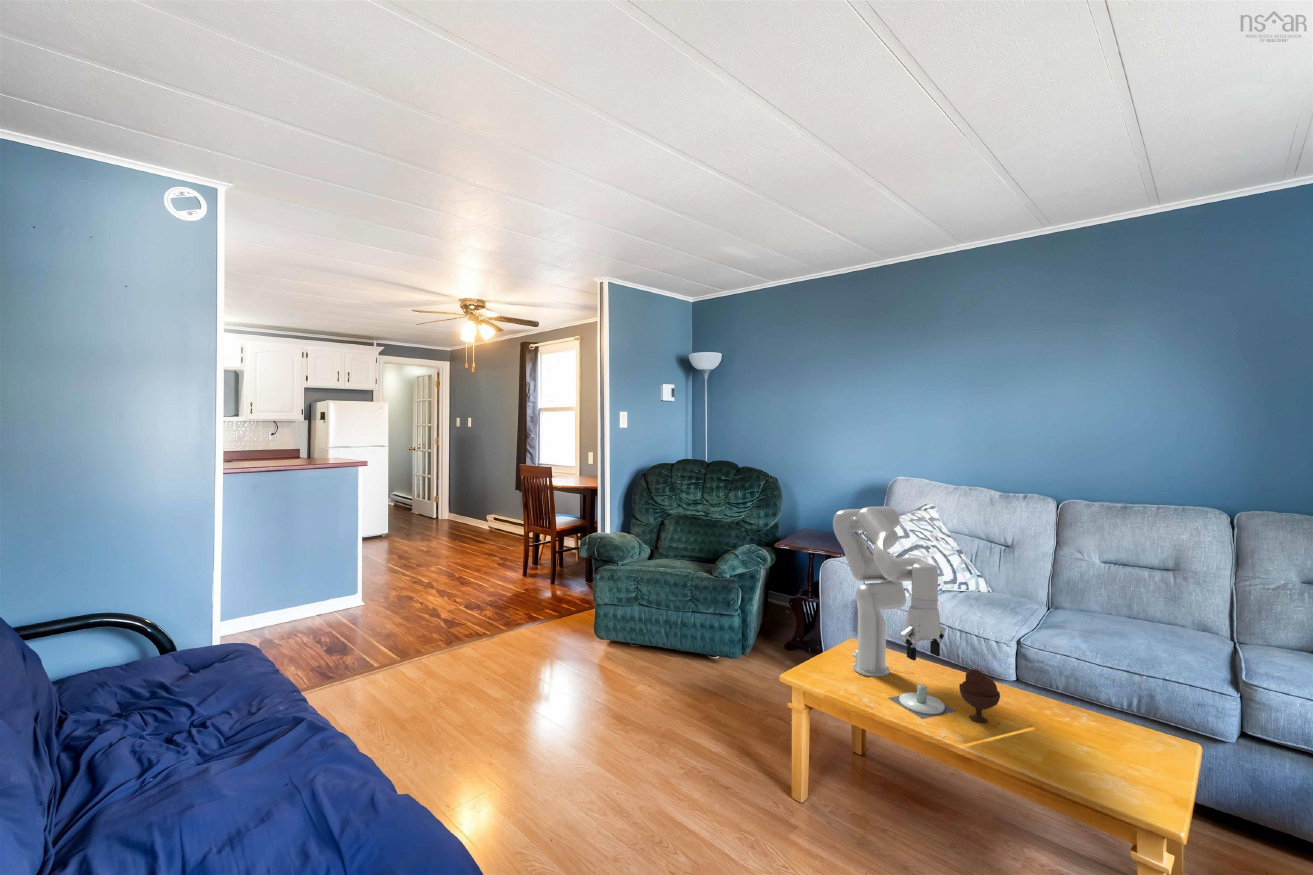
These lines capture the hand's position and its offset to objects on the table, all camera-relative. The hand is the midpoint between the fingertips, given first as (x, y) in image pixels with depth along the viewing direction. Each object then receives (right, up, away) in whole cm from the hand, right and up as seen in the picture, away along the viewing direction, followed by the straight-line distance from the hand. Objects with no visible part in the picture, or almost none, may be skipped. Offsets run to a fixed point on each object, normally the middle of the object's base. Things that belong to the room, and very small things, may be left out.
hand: (923, 656), depth 182 cm
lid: (0, -15, 0) cm, 15 cm away
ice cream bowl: (+13, -16, -8) cm, 22 cm away
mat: (0, -16, 0) cm, 16 cm away
